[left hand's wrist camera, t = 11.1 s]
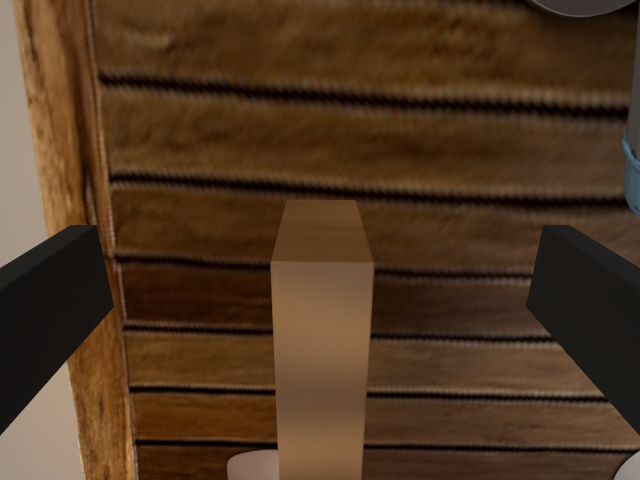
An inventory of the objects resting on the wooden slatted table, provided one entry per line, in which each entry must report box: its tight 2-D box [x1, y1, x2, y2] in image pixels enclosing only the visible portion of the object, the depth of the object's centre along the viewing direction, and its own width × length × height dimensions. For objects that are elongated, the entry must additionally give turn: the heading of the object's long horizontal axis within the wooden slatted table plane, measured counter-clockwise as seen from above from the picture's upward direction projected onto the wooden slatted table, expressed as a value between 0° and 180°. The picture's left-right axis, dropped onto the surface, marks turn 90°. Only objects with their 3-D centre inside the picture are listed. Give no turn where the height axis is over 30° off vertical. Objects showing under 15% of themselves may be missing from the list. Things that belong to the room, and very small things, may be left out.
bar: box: [271, 200, 375, 480], centre depth 27 cm, size 26×4×10 cm, turn 0°
